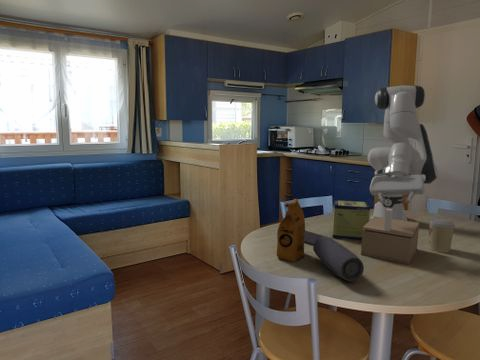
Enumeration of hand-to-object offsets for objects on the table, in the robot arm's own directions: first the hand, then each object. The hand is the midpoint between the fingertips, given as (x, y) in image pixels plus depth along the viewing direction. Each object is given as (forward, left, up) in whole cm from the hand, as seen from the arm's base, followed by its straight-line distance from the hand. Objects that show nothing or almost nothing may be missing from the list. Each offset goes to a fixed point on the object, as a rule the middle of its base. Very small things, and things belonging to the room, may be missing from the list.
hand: (395, 202), depth 149 cm
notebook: (-3, -37, -22) cm, 44 cm away
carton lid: (-5, -1, -12) cm, 13 cm away
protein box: (-17, -21, -22) cm, 35 cm away
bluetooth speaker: (+27, -13, -22) cm, 38 cm away
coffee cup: (-20, +16, -22) cm, 33 cm away
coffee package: (+22, -33, -22) cm, 46 cm away
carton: (-5, -1, -22) cm, 22 cm away
